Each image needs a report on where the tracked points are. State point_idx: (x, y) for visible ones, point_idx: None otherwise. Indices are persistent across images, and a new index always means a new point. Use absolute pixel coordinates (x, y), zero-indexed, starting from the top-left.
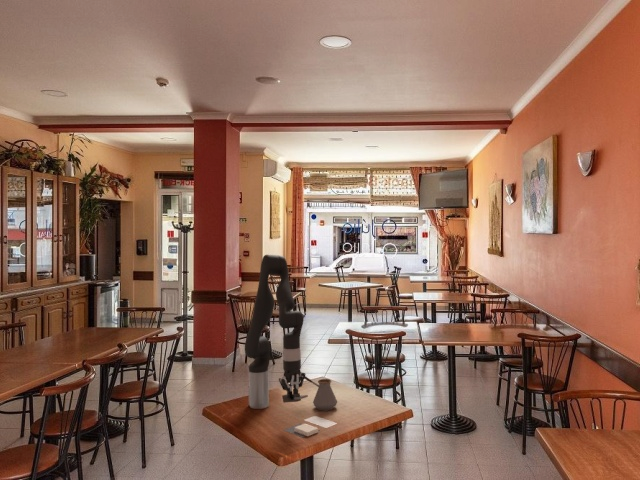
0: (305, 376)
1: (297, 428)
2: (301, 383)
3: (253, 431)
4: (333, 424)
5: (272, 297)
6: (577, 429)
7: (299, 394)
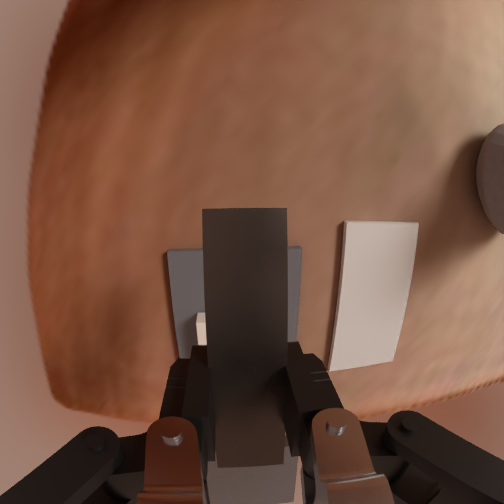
0: None
1: (199, 342)
2: (400, 489)
3: (66, 137)
4: (376, 360)
5: None
6: None
7: (277, 455)
